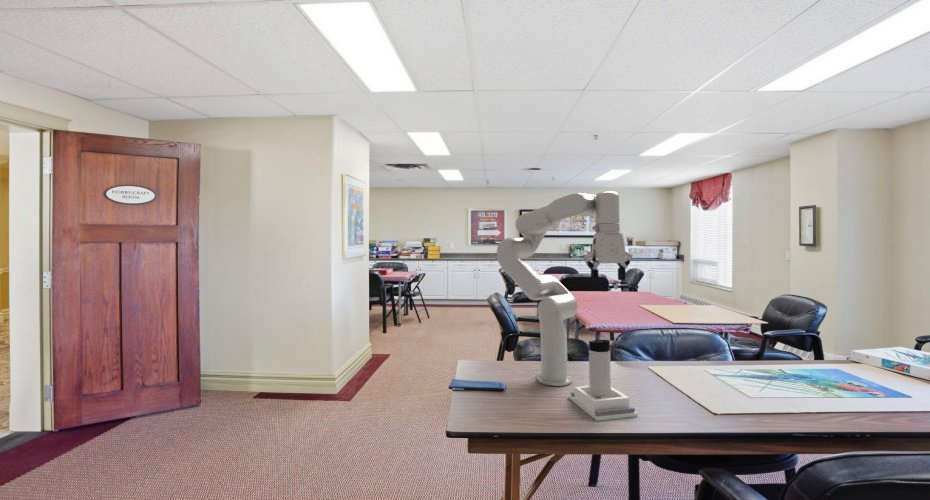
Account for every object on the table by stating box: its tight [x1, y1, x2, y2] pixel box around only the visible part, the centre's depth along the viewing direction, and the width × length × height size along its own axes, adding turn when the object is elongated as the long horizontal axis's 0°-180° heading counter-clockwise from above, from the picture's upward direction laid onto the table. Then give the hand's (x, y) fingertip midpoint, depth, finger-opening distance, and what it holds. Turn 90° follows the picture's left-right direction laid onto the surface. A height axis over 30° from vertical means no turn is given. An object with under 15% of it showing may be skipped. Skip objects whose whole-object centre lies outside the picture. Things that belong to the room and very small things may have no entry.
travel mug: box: [588, 339, 612, 399], centre depth 125 cm, size 6×7×20 cm
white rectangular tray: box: [568, 385, 639, 422], centre depth 125 cm, size 18×13×4 cm
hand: (608, 280), depth 134 cm, fingers open, 9 cm apart
